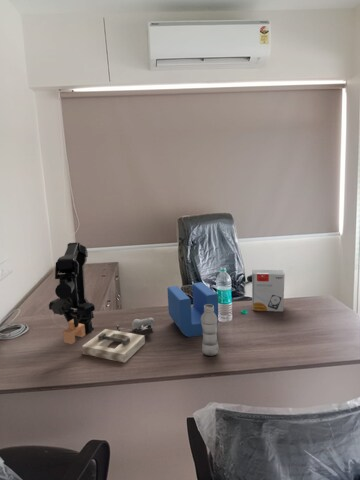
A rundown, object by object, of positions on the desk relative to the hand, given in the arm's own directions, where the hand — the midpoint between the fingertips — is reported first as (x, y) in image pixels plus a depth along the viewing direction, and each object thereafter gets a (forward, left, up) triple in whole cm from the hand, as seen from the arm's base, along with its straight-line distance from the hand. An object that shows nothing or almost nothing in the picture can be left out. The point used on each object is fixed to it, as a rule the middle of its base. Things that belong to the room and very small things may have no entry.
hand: (73, 326), depth 134 cm
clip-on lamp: (+13, +24, -13) cm, 30 cm away
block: (+36, +38, -13) cm, 54 cm away
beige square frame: (+12, +9, -12) cm, 20 cm away
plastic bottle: (+51, +18, -13) cm, 56 cm away
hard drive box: (+65, +70, -13) cm, 97 cm away
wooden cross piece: (0, 0, -5) cm, 5 cm away
